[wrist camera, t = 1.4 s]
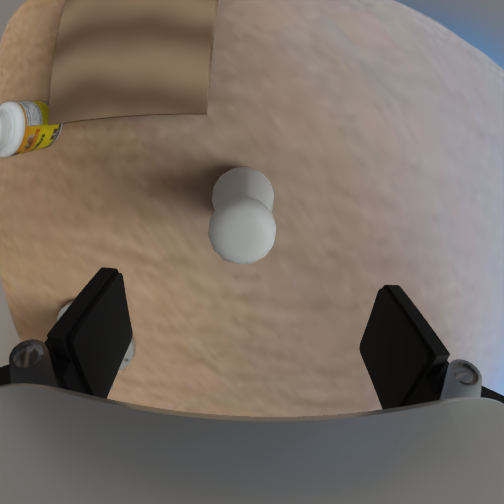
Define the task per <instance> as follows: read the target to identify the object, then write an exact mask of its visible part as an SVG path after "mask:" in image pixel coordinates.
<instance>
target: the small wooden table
mask: <svg viewBox="0 0 504 504" xmlns="http://www.w3.org/2000/svg"><path fill="white" fill-rule="evenodd" d="M217 6H218V0H65V2H64V6H63V10H62V14H61V19H60V23H59V28H58V33H57V38H56V44H55V50H54V57H53V64H52V73H51V82H50V94H49V111H48V125H56V124H63V123H70V122H77V121H85V120H93V119H103V118H113V117H126V116H142V115H171V114H202V115H207V107H208V94H209V82H210V70H211V60H212V50H213V40H214V31H215V22H216V14H217Z"/></svg>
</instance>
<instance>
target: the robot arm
mask: <svg viewBox="0 0 504 504" xmlns="http://www.w3.org/2000/svg"><path fill="white" fill-rule="evenodd" d="M47 337H48V339H47V340H46V342H45V343H43V342H42V341H40V340H34V339H31V340H26V341H23V342H21V343H19V344H18V345H17V346H15V347H14V349H13V350H12V352H11V353H10V356H9V365H6V366H3V367H0V504H504V396H503V395H501V394H498V393H496V392H494V391H492V390H490V389H488V388H486V387H483V386H482V376H481V373H480V371H479V370H478V369H477V367H475V366H474V365H473V364H472V363H470V362H468V361H465V360H461V359H456V360H453V361H452V362H450V363H449V362H448V361H447V359H448V357H449V355H450V354H449V352H448V351H447V349H446V348H445V346H444V345H443V343H442V342H441V340H440V339H439V338H438V336H437V335H436V333H435V332H434V331H433V329H432V328H431V326H430V325H429V324H428V322H427V321H426V320H425V318H424V317H423V316H422V314H421V313H420V312H419V310H418V309H417V308H416V306H415V305H414V304H413V302H412V301H411V300H410V298H409V297H408V296H407V295H406V293H405V292H404V291H403V290H402V288H401V287H400V286H399V285H384V286H383V288H382V289H379V291H378V293H377V296H376V300H375V303H374V306H373V309H372V312H371V315H370V318H369V321H368V323H367V326H366V329H365V332H364V335H363V337H362V340H361V343H360V353H361V356H362V358H363V360H364V363H365V365H366V368H367V370H368V373H369V375H370V378H371V380H372V383H373V385H374V388H375V390H376V393H377V396H378V398H379V401H380V403H381V406H382V409H383V410H375V411H368V412H359V413H349V414H338V415H323V416H303V417H248V416H227V415H213V414H201V413H191V412H182V411H174V410H167V409H160V408H153V407H147V406H142V405H136V404H131V403H125V402H120V401H115V400H110V399H107V396H108V394H109V391H110V390H112V389H113V385H112V384H113V382H114V379H115V377H116V375H117V372H118V370H121V369H124V368H125V367H127V366H128V365H129V364H130V363H131V360H132V358H133V356H134V352H135V344H134V340H133V337H132V327H131V322H130V317H129V311H128V306H127V300H126V294H125V288H124V281H123V275H122V274H121V273H119V272H118V270H117V269H115V268H104V267H102V268H101V269H100V270H99V271H98V272H97V273H96V274H95V276H94V277H93V278H92V279H91V280H90V281H89V283H88V284H87V285H86V286H85V287H84V289H83V290H82V291H81V292H80V293H79V295H78V296H77V297H76V298H75V300H74V301H70V302H69V303H67V304H66V305H65V306H64V307H63V308H62V309H61V310H60V312H59V313H58V316H57V323H56V324H55V325H54V326H53V328H52V329H51V330H50V332H49V333H48V335H47Z"/></svg>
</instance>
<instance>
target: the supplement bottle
mask: <svg viewBox="0 0 504 504" xmlns="http://www.w3.org/2000/svg"><path fill="white" fill-rule="evenodd" d="M48 111H49V102H48V101H9V102H5V103H3V104H1V105H0V157H9V156H12V155H16V154H20V153H25V152H29V151H33V150H37V149H42V148H46V147H48V146H50V145H52V144H53V143H54V142H55V141H56V140H57V138H58V137H59V135H60V133H61V130H62V125H63V124H56V125H48Z"/></svg>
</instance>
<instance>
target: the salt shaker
mask: <svg viewBox="0 0 504 504" xmlns="http://www.w3.org/2000/svg"><path fill="white" fill-rule="evenodd" d="M273 200H274V192H273V189H272V185H271V182H270V181H269V180H268V179H267V178H266V177H265V176H264V175H263V174H262V173H261V172H260V171H257V170H254V169H252V168H249V167H240V168H233V169H231V170H229V171H227V172H226V173H224V174H222V175H221V176H220V177H219V179H218V181H217V182H216V184H215V185H214V187H213V194H212V203H213V206H214V210H215V212H214V213H213V215H212V216H211V218H210V222H209V231H208V235H209V239H210V241H211V244H212V246H213V249H214V251H215V252H217V253H218V254H219V255H220V256H221V257H222V258H223V259H224V260H226V261H229V262H232V263H235V264H249V263H254V262H256V261H257V260H259V259H261V258H263V257H265V255H266V254H267V253H268V252H269V250H270V249H271V248H272V246H273V244H274V239H275V233H276V225H275V221H274V218H273V214H272V212H271V210H272V206H273Z"/></svg>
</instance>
